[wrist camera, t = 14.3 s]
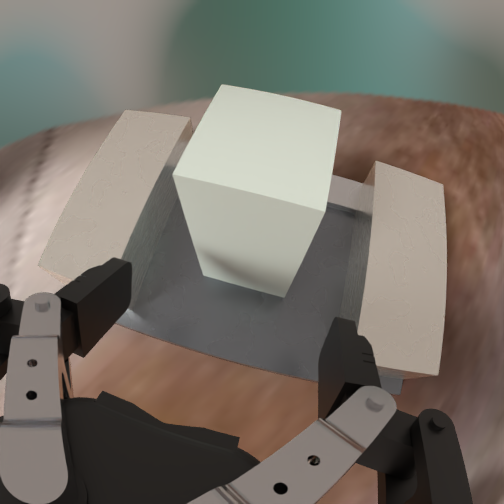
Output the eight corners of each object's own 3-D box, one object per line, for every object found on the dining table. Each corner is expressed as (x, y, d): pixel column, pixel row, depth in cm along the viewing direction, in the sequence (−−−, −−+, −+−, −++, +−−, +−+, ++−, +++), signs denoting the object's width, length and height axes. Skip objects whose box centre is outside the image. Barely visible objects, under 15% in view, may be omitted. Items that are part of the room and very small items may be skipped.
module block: (203, 275, 19) (172, 174, 10) (228, 206, 21) (221, 84, 12) (284, 297, 19) (325, 211, 10) (301, 225, 21) (341, 110, 12)
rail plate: (73, 306, 19) (30, 281, 14) (147, 148, 25) (132, 100, 20) (389, 394, 18) (435, 394, 13) (409, 212, 23) (441, 173, 18)
